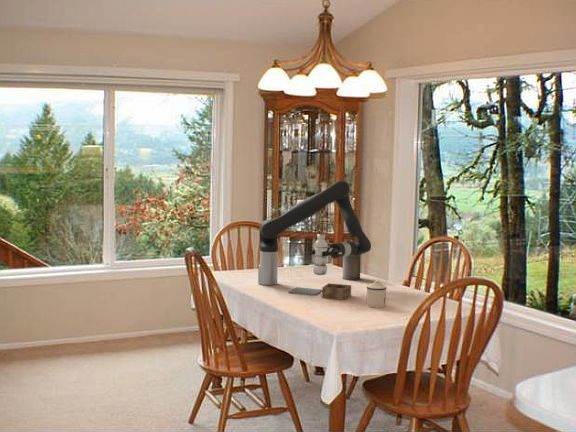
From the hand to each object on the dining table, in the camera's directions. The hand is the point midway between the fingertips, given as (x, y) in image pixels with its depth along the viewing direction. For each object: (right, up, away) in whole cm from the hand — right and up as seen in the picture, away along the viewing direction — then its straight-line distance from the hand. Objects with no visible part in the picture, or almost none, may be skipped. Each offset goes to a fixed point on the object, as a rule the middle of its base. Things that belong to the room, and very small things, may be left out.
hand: (317, 253), depth 344 cm
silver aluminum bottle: (+1, -11, +3) cm, 11 cm away
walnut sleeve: (+9, -21, -1) cm, 23 cm away
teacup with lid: (+26, -23, -17) cm, 38 cm away
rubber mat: (-5, -20, +9) cm, 22 cm away
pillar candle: (+20, -16, +45) cm, 52 cm away
